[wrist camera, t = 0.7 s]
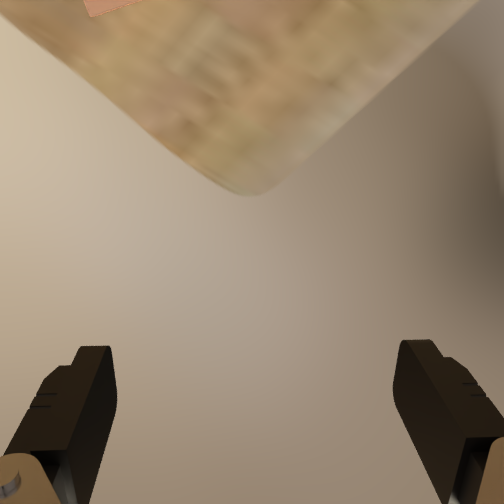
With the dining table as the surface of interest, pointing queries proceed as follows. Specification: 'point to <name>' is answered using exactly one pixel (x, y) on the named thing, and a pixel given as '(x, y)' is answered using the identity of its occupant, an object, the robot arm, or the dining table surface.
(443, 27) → the dining table surface
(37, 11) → the dining table surface
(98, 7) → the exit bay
